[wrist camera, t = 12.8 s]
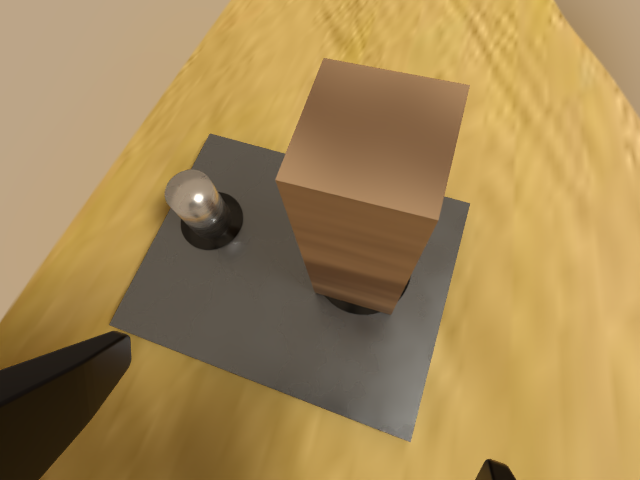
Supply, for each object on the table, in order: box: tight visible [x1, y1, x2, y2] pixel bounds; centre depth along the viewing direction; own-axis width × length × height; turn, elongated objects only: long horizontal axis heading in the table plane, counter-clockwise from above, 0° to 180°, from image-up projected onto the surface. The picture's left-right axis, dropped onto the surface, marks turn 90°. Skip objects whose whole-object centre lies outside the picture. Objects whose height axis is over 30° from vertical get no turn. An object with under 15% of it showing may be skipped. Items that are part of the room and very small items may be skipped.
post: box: [275, 58, 470, 315], centre depth 17 cm, size 4×4×13 cm
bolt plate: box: [109, 134, 470, 442], centre depth 23 cm, size 14×18×5 cm
